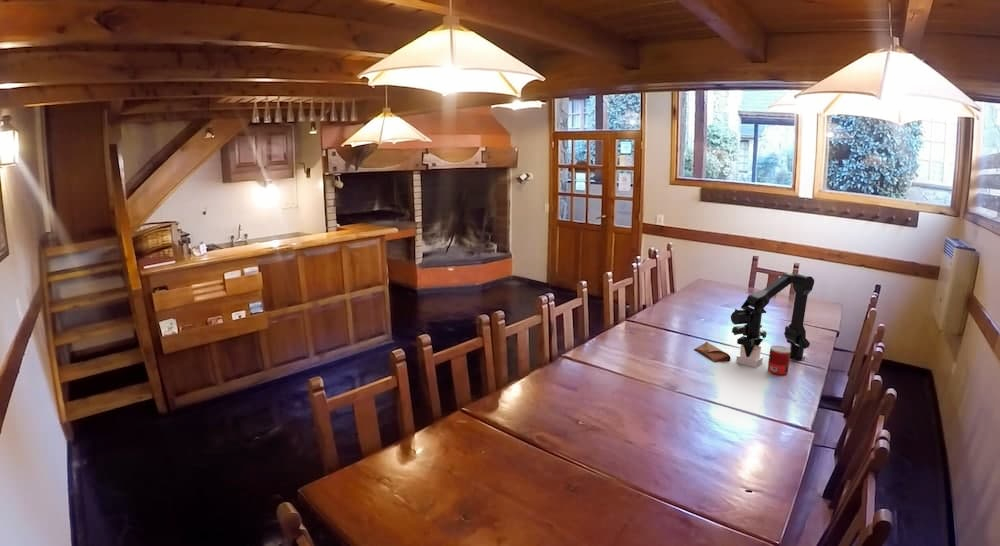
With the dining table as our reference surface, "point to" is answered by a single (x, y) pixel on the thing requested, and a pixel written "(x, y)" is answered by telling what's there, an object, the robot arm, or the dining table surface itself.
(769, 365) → the canned food
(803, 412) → the dining table surface
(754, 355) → the cream box
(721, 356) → the sunglasses case
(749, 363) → the pale pink chamfered block
